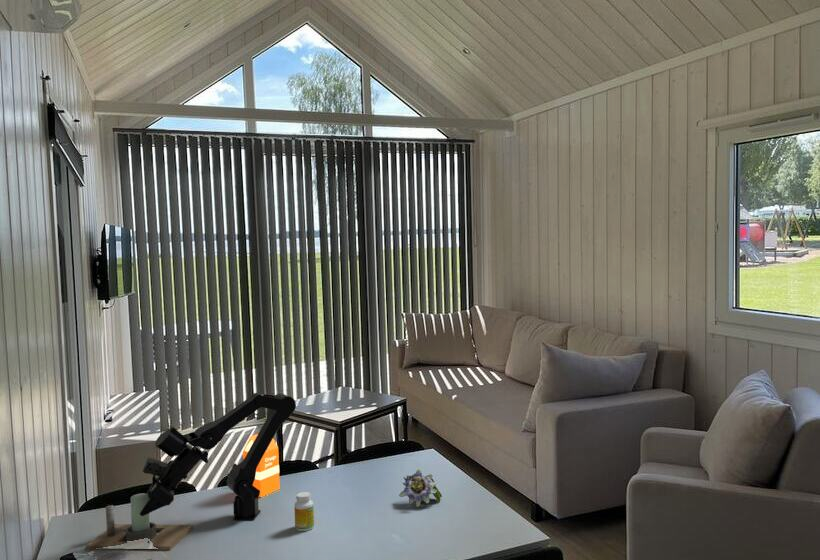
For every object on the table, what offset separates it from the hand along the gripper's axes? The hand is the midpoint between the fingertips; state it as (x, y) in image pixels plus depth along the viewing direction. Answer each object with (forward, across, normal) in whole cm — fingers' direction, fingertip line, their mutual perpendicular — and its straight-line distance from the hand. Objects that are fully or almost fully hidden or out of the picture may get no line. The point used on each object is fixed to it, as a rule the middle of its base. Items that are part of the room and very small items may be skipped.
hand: (141, 509), depth 178 cm
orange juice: (-20, -23, +31) cm, 43 cm away
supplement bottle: (-25, +12, +37) cm, 46 cm away
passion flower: (-52, +7, +63) cm, 82 cm away
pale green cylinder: (+6, 0, +6) cm, 8 cm away
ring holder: (+6, 0, +6) cm, 8 cm away
